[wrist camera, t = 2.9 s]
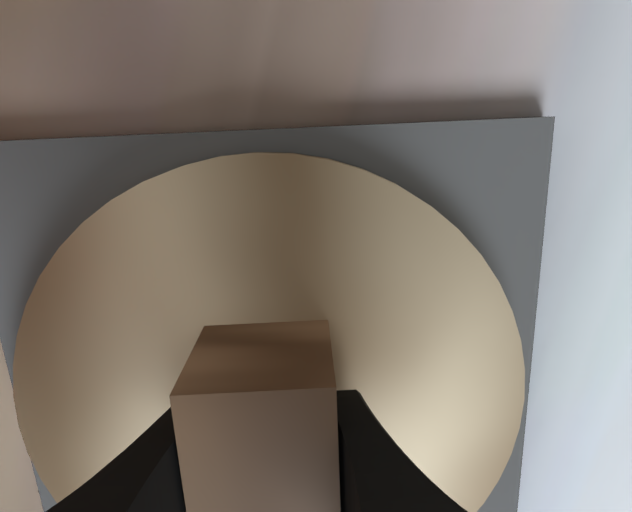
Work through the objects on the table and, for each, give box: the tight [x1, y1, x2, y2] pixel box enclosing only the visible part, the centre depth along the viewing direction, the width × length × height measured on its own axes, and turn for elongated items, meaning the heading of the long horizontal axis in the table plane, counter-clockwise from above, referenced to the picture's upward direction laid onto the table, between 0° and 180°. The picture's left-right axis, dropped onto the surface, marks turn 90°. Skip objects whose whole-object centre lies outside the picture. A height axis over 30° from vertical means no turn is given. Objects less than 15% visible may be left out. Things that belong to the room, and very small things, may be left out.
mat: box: [0, 117, 555, 512], centre depth 13 cm, size 14×14×1 cm
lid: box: [13, 152, 525, 512], centre depth 11 cm, size 13×13×4 cm
